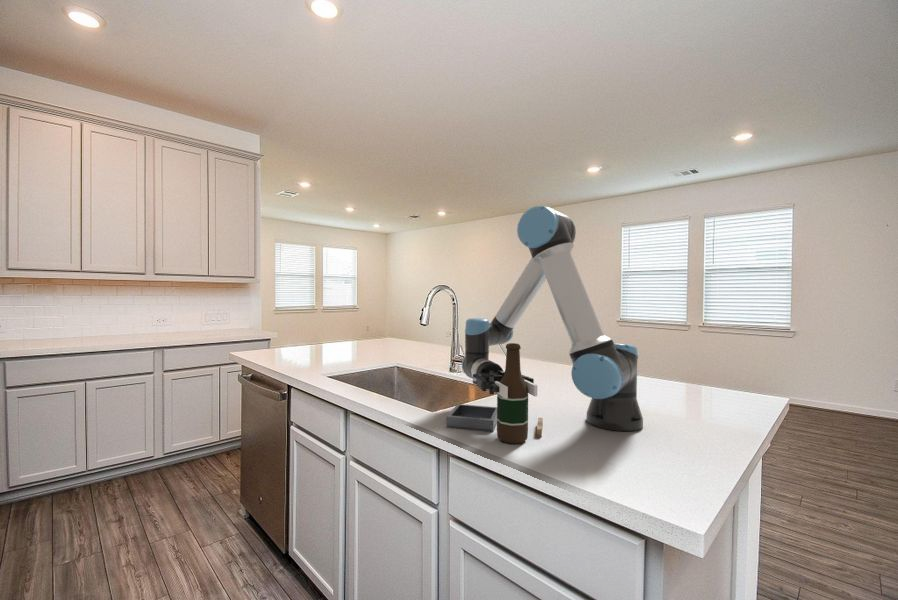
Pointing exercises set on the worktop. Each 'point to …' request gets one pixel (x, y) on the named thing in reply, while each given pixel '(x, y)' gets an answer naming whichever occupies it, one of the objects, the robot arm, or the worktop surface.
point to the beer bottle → (513, 400)
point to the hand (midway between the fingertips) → (521, 391)
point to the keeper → (473, 417)
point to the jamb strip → (539, 427)
